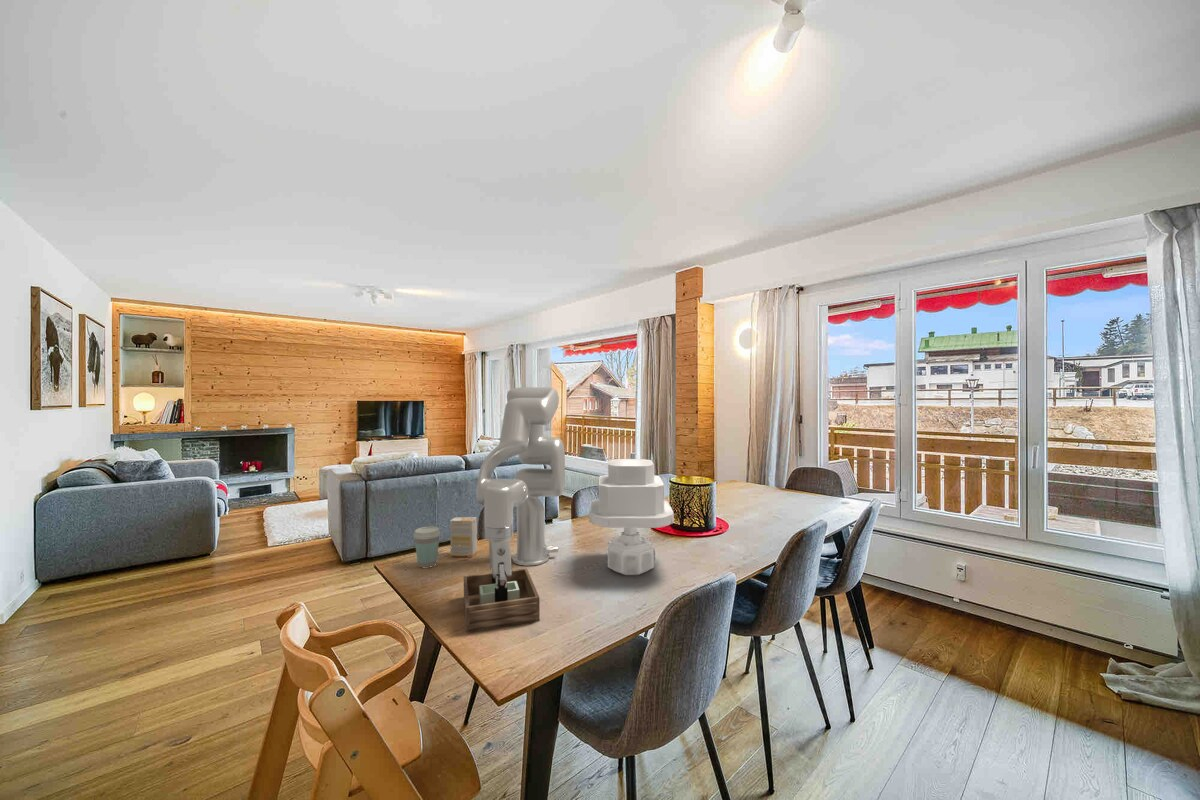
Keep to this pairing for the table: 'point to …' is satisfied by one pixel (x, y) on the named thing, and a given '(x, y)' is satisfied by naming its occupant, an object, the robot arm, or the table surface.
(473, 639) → the table surface
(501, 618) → the walnut crate
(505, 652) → the table surface
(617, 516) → the white tiered cake stand
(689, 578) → the table surface
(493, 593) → the sage crate
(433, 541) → the coffee cup
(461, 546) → the supplement box
